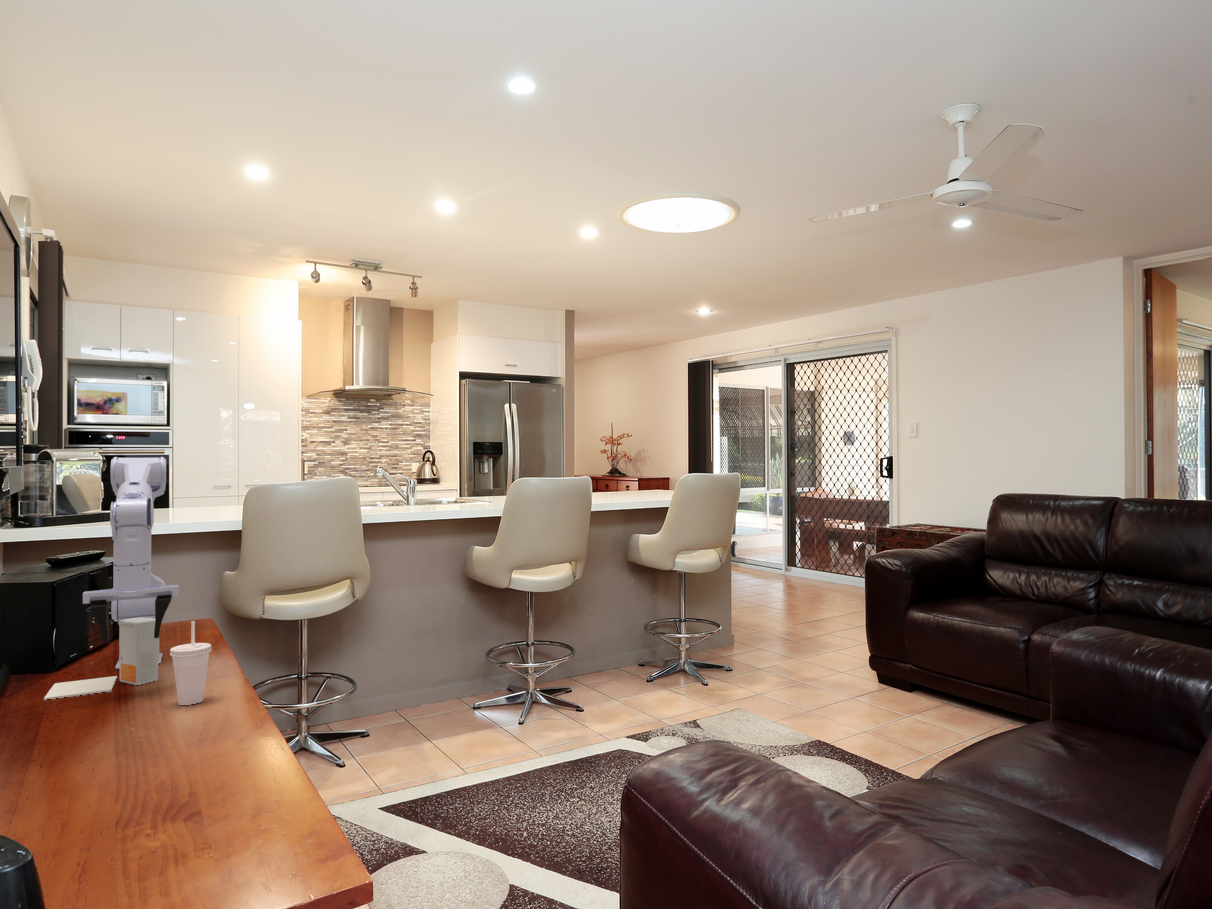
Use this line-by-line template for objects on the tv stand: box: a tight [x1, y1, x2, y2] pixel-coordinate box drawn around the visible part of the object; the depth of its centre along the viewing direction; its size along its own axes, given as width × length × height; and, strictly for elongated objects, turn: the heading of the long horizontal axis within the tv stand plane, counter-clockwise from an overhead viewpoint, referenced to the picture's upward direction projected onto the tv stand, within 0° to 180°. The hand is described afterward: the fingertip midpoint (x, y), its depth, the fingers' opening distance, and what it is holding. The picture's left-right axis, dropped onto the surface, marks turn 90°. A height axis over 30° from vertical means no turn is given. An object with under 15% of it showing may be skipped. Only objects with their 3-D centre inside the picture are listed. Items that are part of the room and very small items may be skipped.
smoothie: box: [169, 620, 213, 706], centre depth 129 cm, size 6×6×14 cm
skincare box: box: [119, 617, 159, 686], centre depth 143 cm, size 6×4×12 cm
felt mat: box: [43, 675, 118, 701], centre depth 139 cm, size 11×10×1 cm
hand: (131, 639), depth 134 cm, fingers open, 7 cm apart
